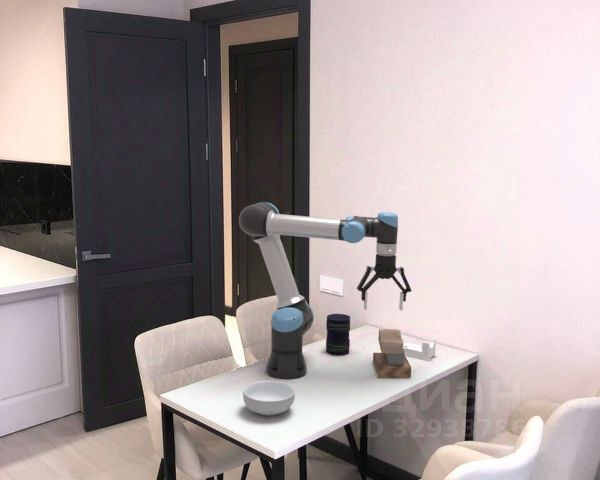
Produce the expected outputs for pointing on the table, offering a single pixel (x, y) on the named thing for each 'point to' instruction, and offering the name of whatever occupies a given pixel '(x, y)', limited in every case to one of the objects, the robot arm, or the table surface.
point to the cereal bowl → (268, 397)
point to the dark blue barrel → (338, 334)
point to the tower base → (390, 367)
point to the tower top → (395, 358)
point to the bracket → (420, 350)
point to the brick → (390, 341)
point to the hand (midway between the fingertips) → (383, 309)
